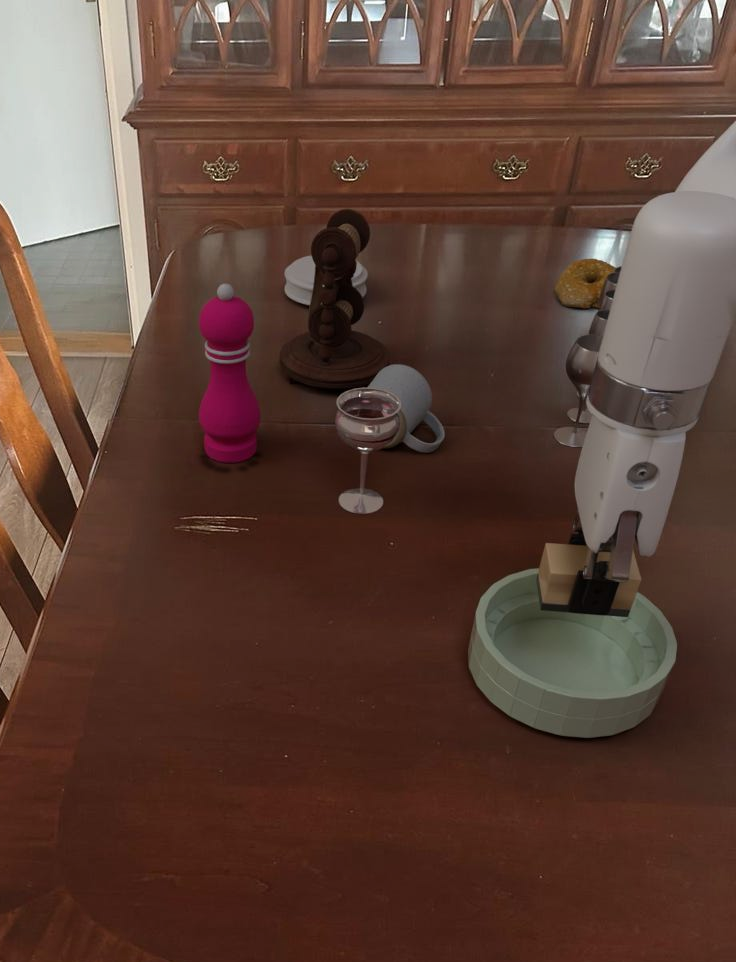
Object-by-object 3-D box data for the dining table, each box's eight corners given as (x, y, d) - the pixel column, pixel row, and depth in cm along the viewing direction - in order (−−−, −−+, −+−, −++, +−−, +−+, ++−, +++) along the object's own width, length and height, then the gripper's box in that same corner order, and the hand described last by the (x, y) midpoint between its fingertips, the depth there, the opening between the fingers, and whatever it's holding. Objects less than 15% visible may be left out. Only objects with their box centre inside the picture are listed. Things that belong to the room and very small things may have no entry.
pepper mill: (195, 463, 109) (185, 296, 95) (206, 432, 114) (197, 269, 100) (256, 467, 108) (254, 299, 94) (264, 435, 113) (263, 272, 100)
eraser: (620, 586, 78) (633, 548, 75) (628, 617, 75) (642, 579, 72) (535, 580, 79) (545, 542, 76) (540, 610, 76) (550, 572, 73)
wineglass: (320, 491, 104) (325, 394, 96) (374, 478, 106) (383, 382, 98) (346, 524, 100) (353, 425, 91) (402, 510, 101) (413, 412, 93)
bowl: (640, 619, 88) (656, 574, 84) (675, 752, 76) (696, 707, 72) (463, 605, 90) (472, 561, 86) (470, 734, 78) (480, 689, 74)
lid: (304, 274, 150) (305, 242, 146) (377, 287, 145) (380, 255, 142) (270, 304, 141) (270, 271, 138) (347, 318, 137) (349, 285, 134)
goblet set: (590, 347, 130) (614, 251, 120) (632, 355, 128) (660, 258, 119) (544, 443, 111) (568, 338, 102) (592, 454, 109) (622, 348, 100)
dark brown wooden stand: (298, 341, 132) (301, 192, 118) (399, 356, 128) (415, 205, 115) (264, 388, 122) (264, 232, 108) (373, 406, 118) (387, 247, 104)
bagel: (538, 299, 142) (545, 268, 138) (579, 279, 147) (586, 249, 144) (595, 319, 136) (603, 287, 133) (635, 298, 142) (644, 267, 138)
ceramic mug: (345, 444, 111) (350, 385, 106) (371, 413, 117) (377, 356, 111) (429, 466, 108) (438, 408, 103) (451, 434, 113) (461, 376, 108)
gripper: (733, 458, 57) (648, 667, 70) (678, 340, 70) (614, 536, 82) (609, 450, 58) (547, 659, 71) (576, 334, 70) (528, 530, 83)
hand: (584, 591), depth 76 cm, fingers closed on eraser, 4 cm apart
